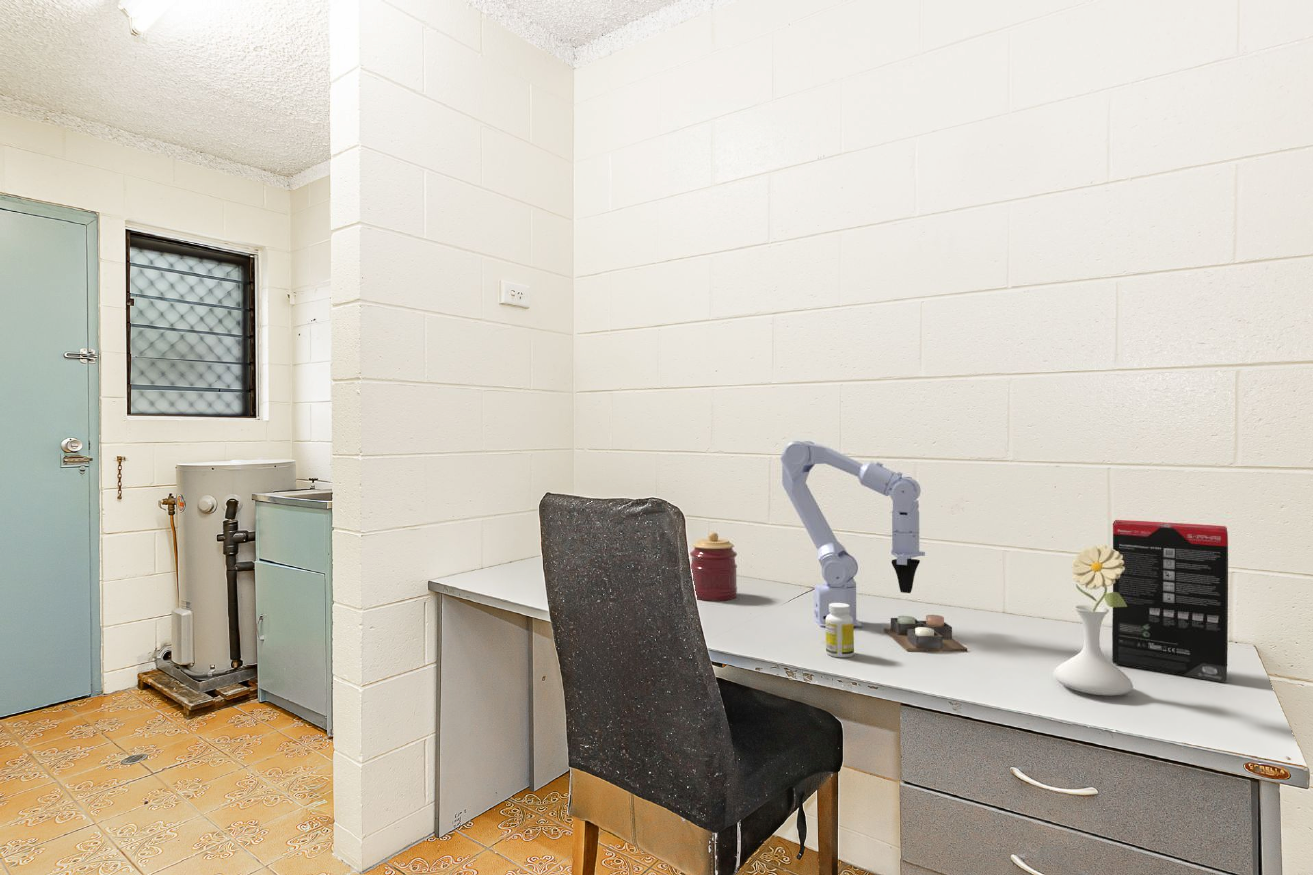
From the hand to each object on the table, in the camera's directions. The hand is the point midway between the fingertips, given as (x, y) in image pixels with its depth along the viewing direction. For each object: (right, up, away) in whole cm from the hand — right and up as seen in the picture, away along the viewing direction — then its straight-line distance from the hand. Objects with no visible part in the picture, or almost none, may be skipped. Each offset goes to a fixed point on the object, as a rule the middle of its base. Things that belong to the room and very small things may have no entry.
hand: (905, 592), depth 152 cm
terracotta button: (+4, -7, -6) cm, 10 cm away
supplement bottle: (-19, -9, -17) cm, 27 cm away
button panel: (+1, -9, -8) cm, 12 cm away
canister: (-40, -9, +36) cm, 55 cm away
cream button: (-1, -7, -13) cm, 15 cm away
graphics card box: (+38, -8, -27) cm, 48 cm away
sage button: (-1, -7, -3) cm, 8 cm away
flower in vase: (+18, -8, -38) cm, 43 cm away
